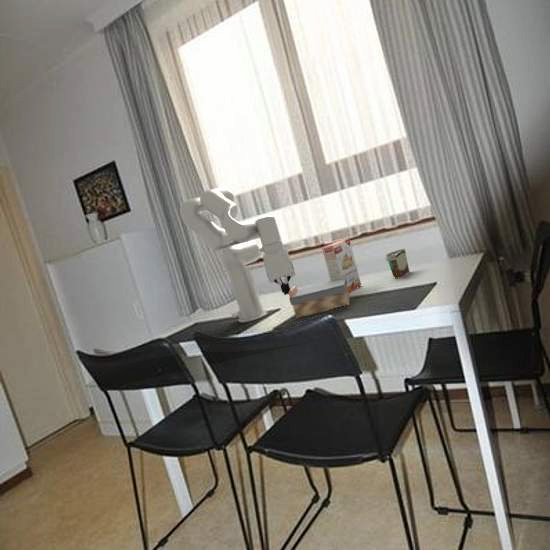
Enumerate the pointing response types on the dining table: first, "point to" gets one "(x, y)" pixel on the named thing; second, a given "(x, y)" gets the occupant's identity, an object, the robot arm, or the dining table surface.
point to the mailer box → (322, 304)
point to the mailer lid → (317, 291)
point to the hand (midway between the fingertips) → (287, 293)
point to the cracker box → (342, 263)
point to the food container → (398, 263)
